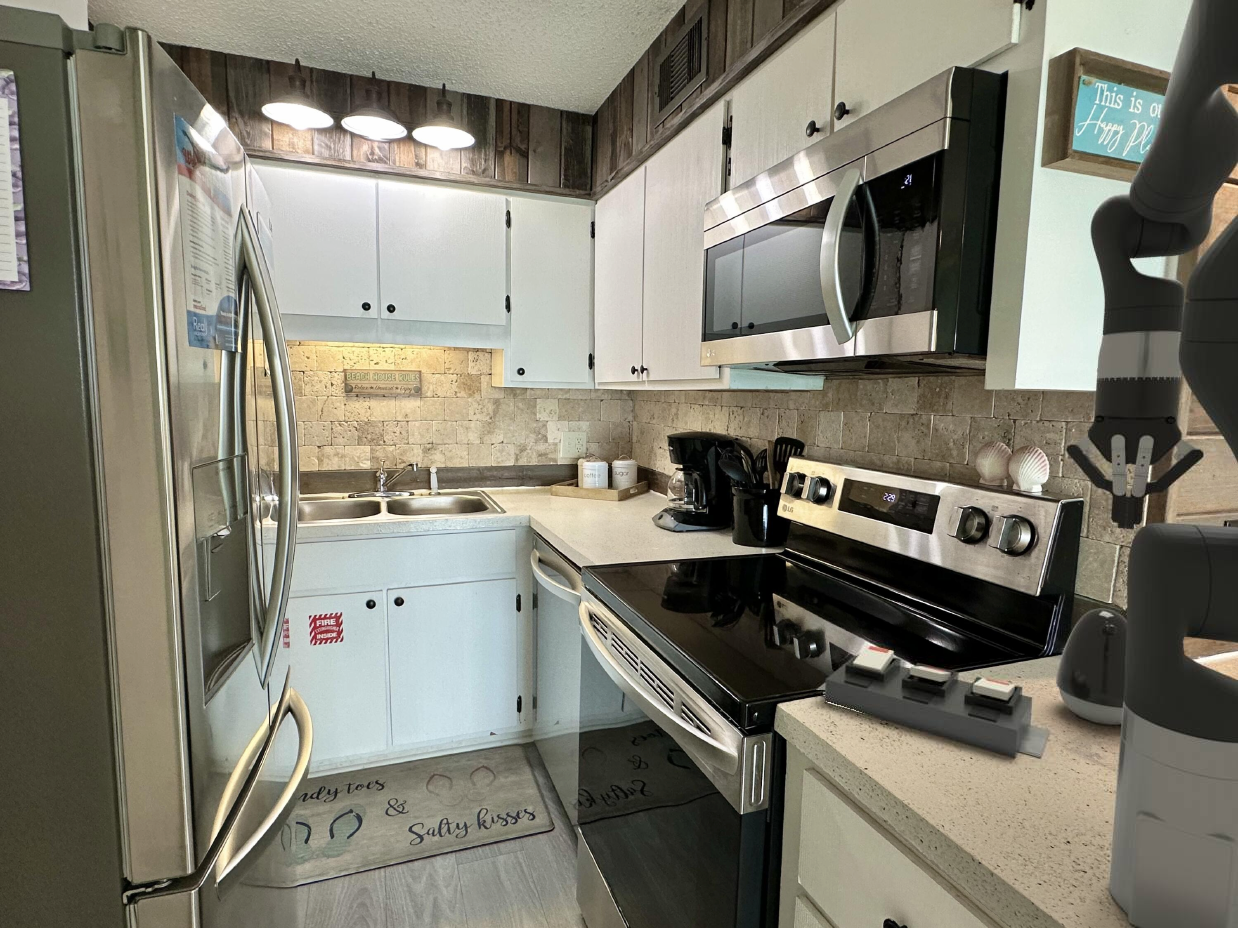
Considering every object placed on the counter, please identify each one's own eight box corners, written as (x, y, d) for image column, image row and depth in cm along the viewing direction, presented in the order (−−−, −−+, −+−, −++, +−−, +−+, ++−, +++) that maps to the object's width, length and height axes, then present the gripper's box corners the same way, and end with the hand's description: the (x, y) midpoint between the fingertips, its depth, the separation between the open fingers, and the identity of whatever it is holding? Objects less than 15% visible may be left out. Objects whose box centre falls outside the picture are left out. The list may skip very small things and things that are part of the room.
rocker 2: (1006, 700, 88) (1007, 691, 88) (972, 691, 90) (973, 683, 91) (1014, 692, 93) (1015, 684, 93) (981, 685, 95) (982, 677, 95)
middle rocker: (940, 681, 93) (941, 673, 93) (909, 673, 95) (910, 666, 96) (950, 679, 98) (951, 672, 98) (920, 672, 100) (921, 665, 100)
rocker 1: (880, 675, 98) (880, 668, 98) (853, 668, 101) (852, 662, 100) (893, 656, 103) (893, 650, 102) (867, 650, 105) (866, 644, 105)
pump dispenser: (1058, 723, 92) (1065, 614, 91) (1051, 694, 101) (1058, 594, 100) (1152, 741, 87) (1162, 626, 86) (1136, 709, 97) (1144, 604, 95)
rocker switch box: (1038, 764, 82) (1040, 727, 81) (808, 698, 100) (809, 667, 99) (1051, 727, 91) (1053, 694, 91) (839, 672, 109) (840, 644, 109)
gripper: (1063, 375, 78) (1053, 525, 79) (1217, 373, 69) (1203, 540, 71) (1070, 377, 84) (1061, 517, 85) (1213, 375, 75) (1200, 530, 77)
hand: (1126, 527), depth 78 cm, fingers closed
